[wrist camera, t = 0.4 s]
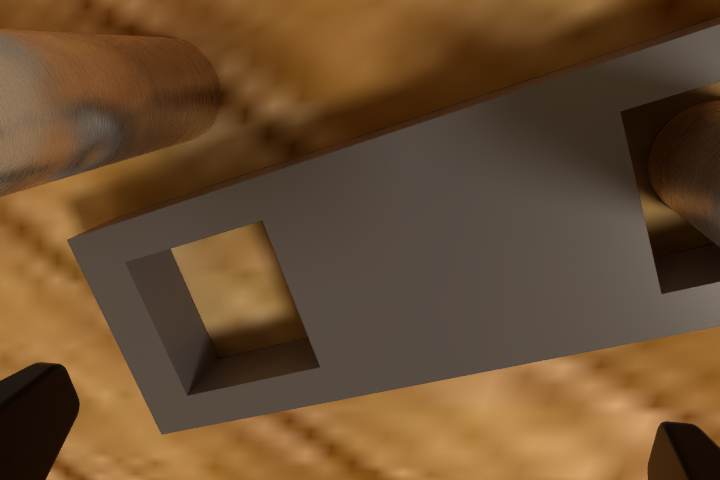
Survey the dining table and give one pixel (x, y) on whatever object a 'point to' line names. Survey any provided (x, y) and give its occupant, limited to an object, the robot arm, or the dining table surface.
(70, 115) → the cylinder
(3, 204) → the dining table surface
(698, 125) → the billet
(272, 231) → the twin nest fixture
